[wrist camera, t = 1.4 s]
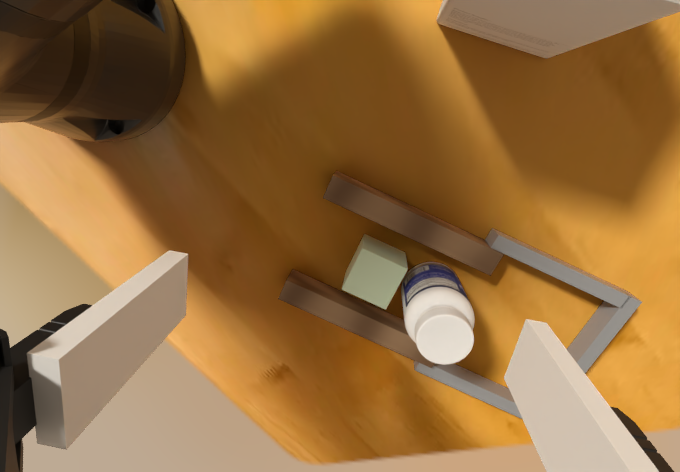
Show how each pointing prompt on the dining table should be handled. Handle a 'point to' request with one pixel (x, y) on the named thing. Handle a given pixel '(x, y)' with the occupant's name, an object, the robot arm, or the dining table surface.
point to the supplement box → (550, 21)
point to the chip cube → (375, 271)
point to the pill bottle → (437, 313)
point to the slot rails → (398, 219)
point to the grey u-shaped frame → (581, 349)
